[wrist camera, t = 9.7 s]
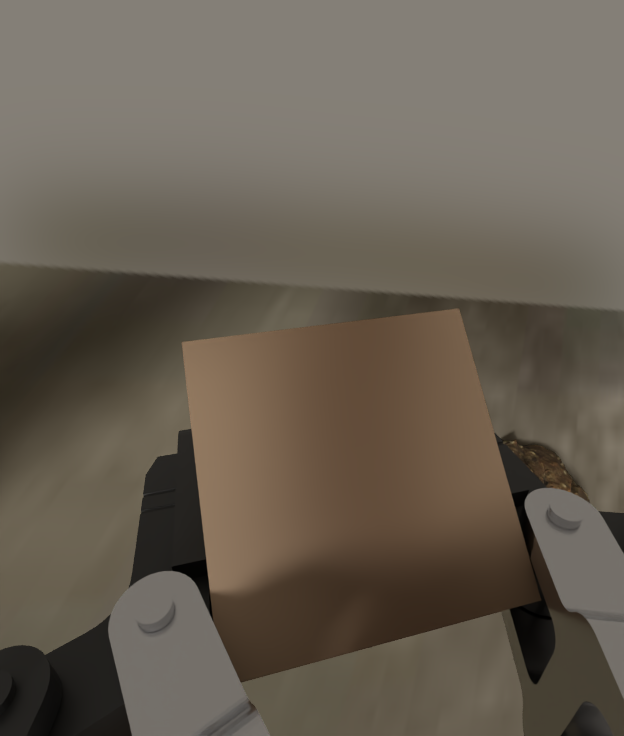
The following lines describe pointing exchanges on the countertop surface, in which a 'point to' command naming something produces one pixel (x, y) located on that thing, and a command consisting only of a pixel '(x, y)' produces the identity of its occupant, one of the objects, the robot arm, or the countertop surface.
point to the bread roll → (546, 467)
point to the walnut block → (349, 488)
